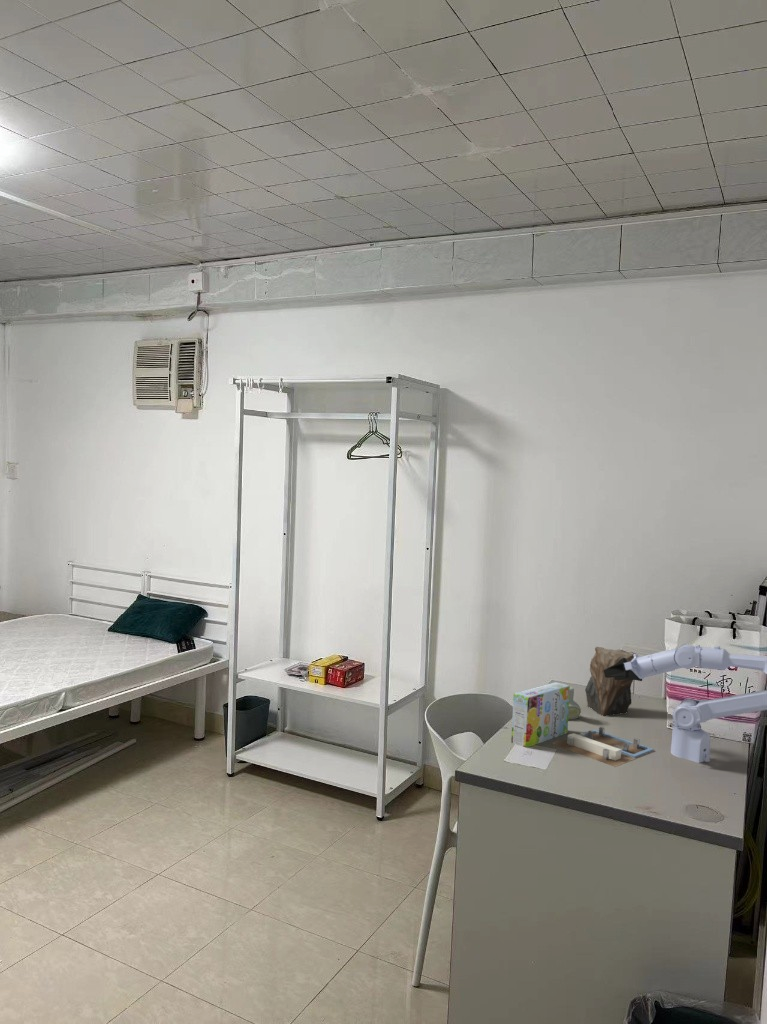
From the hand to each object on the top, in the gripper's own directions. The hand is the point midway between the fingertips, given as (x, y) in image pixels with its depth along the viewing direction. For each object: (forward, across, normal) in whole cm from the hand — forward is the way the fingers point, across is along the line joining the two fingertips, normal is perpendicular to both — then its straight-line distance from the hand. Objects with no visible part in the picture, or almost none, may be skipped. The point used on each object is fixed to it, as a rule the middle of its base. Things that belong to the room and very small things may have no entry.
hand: (609, 675), depth 219 cm
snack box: (+21, +11, +15) cm, 28 cm away
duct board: (+5, +5, +20) cm, 22 cm away
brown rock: (+15, -32, +5) cm, 36 cm away
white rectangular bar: (+6, +10, +20) cm, 23 cm away
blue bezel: (+4, 0, +19) cm, 19 cm away
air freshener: (+23, -13, +7) cm, 28 cm away
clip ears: (+5, +5, +20) cm, 22 cm away
